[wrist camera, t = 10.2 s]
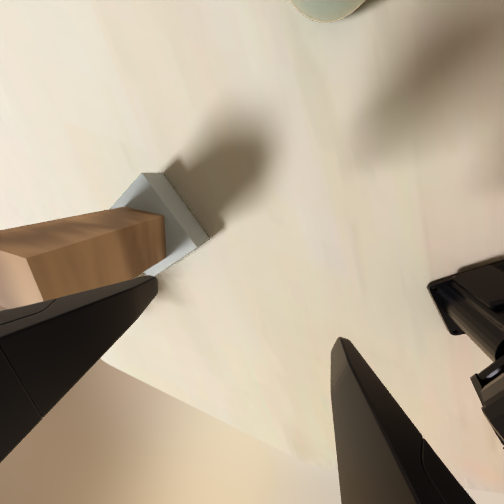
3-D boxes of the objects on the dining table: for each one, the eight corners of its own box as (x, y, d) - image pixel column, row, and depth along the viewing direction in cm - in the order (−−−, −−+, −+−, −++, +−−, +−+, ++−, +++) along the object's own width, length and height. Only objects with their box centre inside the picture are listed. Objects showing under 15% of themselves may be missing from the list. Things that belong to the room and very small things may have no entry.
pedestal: (209, 238, 23) (197, 247, 20) (165, 268, 27) (149, 279, 24) (162, 172, 21) (141, 172, 19) (122, 214, 25) (99, 219, 22)
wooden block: (164, 215, 20) (26, 258, 10) (166, 257, 22) (54, 326, 12) (124, 206, 21) (-39, 238, 11) (130, 247, 23) (-2, 305, 13)
